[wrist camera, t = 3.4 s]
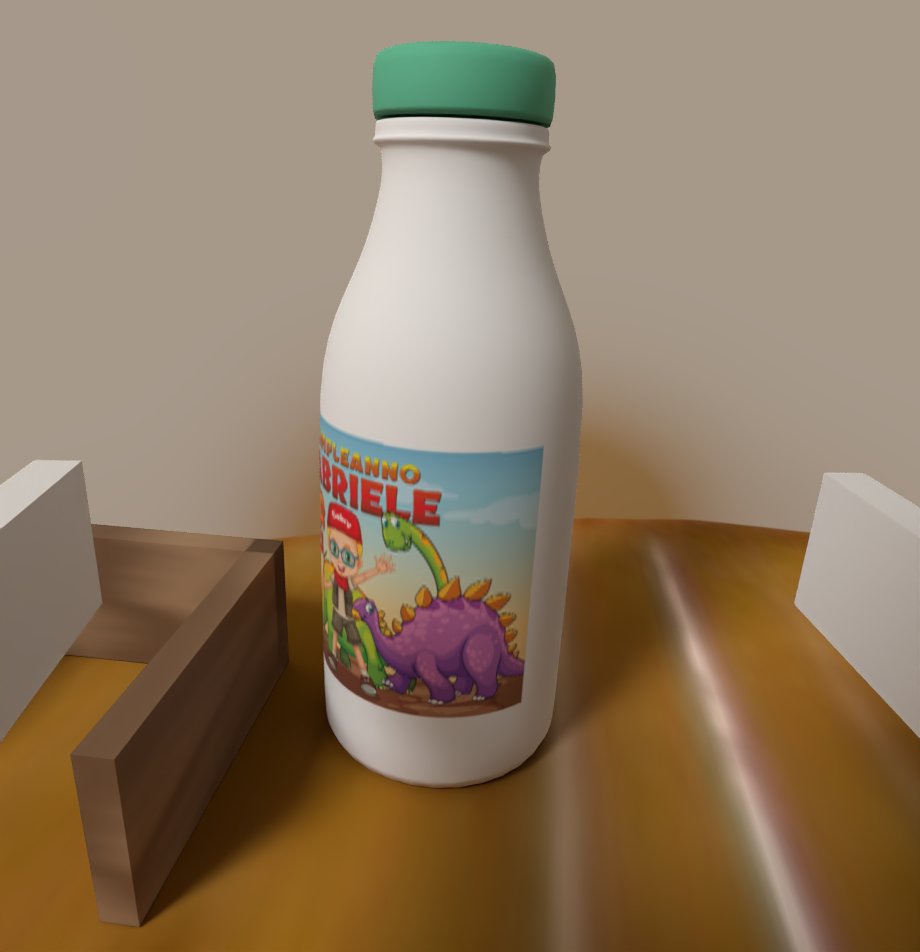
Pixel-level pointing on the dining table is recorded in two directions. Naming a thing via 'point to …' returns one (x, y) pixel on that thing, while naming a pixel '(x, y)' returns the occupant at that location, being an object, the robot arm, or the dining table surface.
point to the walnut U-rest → (171, 695)
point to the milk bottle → (450, 430)
